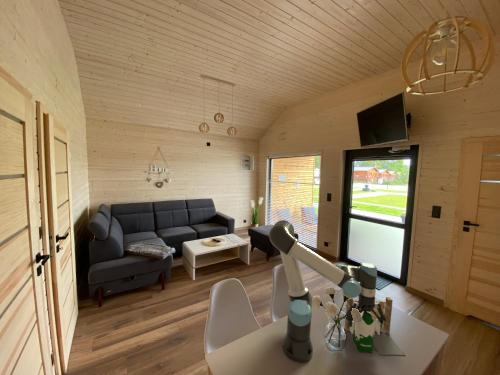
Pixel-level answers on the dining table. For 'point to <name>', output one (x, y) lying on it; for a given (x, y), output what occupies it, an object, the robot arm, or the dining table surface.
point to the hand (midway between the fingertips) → (364, 332)
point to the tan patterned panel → (386, 313)
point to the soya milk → (364, 333)
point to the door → (376, 311)
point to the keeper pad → (386, 345)
